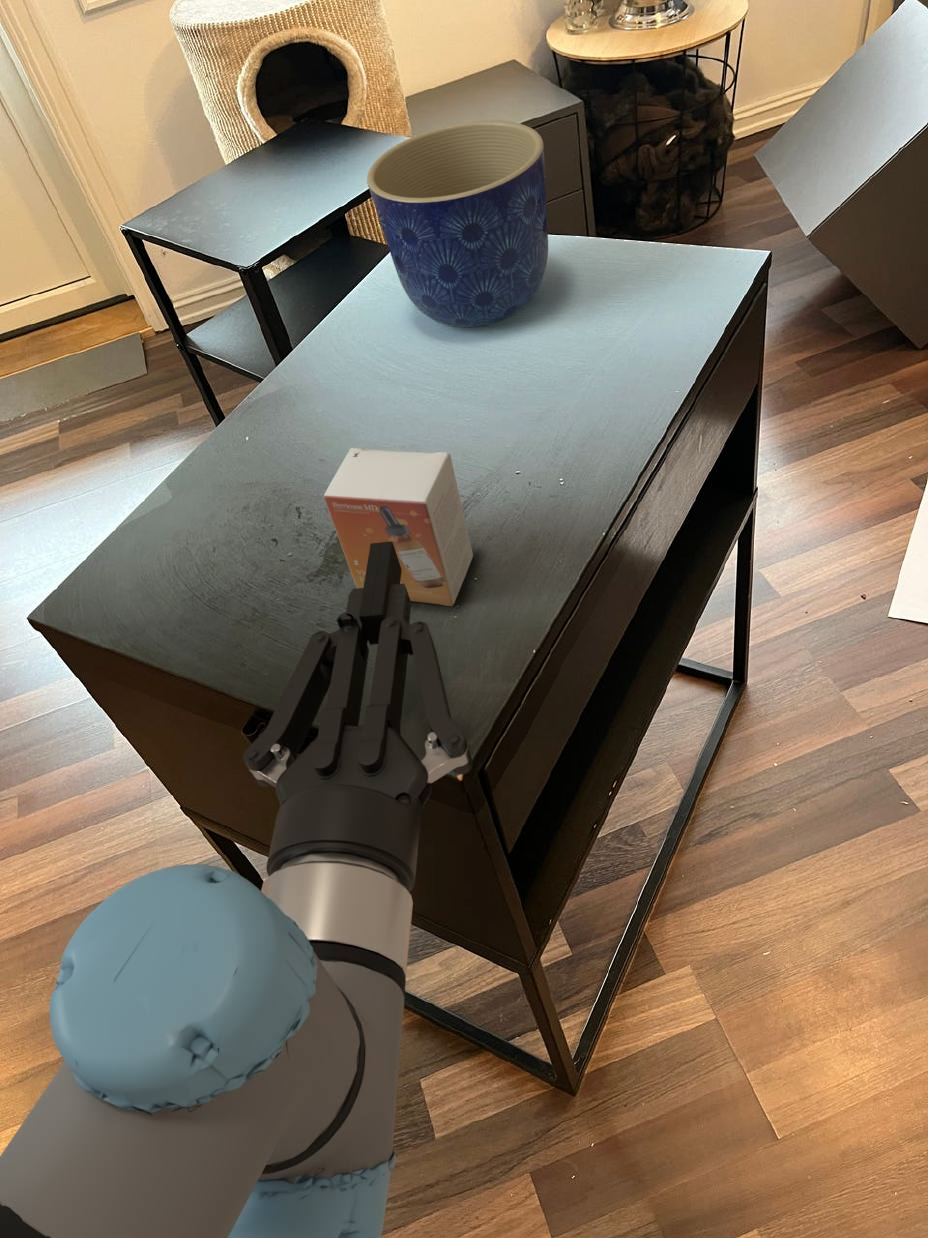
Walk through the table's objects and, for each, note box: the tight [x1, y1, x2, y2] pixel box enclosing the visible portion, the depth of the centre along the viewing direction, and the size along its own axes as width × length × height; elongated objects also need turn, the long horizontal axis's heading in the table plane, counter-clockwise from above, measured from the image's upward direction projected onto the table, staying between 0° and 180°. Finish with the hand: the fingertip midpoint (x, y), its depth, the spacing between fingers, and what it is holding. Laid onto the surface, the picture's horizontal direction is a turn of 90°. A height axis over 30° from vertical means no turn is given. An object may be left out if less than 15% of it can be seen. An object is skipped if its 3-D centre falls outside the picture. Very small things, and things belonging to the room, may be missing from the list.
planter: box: [366, 119, 549, 328], centre depth 93 cm, size 17×17×15 cm
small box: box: [323, 447, 474, 607], centre depth 69 cm, size 8×6×10 cm
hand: (386, 557), depth 62 cm, fingers closed
